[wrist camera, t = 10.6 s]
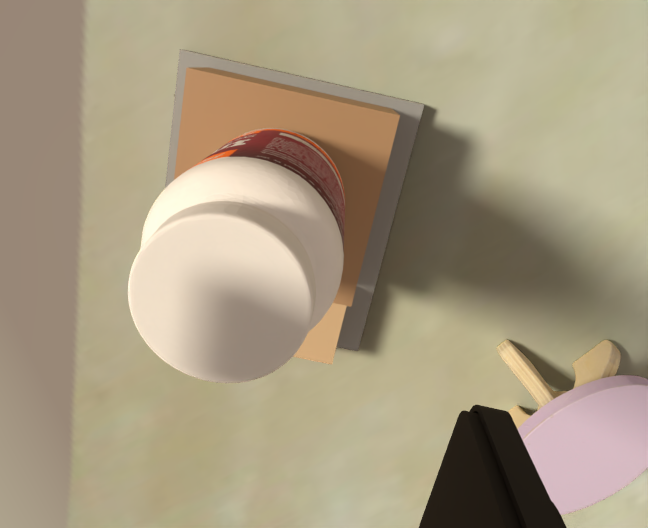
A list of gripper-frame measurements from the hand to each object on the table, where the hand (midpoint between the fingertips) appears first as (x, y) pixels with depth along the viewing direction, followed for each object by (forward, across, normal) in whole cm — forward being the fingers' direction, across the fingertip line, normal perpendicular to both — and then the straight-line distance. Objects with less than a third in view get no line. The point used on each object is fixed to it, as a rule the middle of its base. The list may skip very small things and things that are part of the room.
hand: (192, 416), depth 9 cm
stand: (+20, +1, +1) cm, 20 cm away
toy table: (+21, -17, +9) cm, 28 cm away
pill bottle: (+15, +1, 0) cm, 15 cm away
